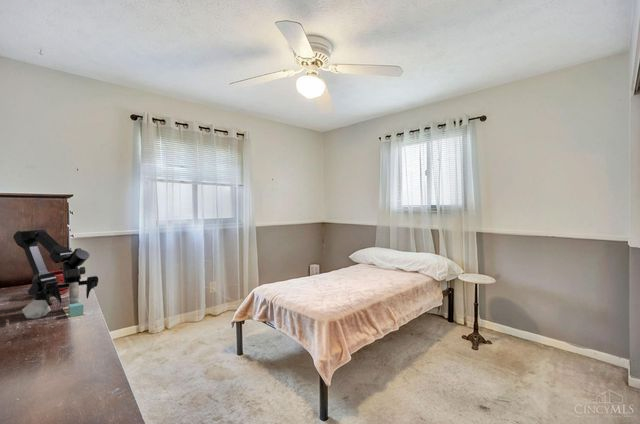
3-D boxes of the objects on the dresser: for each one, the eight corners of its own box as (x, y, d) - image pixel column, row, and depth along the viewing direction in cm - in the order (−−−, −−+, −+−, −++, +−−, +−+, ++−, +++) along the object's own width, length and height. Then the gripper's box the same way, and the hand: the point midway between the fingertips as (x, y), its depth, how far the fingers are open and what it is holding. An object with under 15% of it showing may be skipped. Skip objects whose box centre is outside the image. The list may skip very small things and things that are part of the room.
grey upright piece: (62, 309, 137) (62, 280, 137) (79, 306, 141) (78, 278, 141) (68, 321, 123) (68, 288, 123) (86, 317, 128) (86, 285, 128)
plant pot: (44, 292, 166) (44, 271, 166) (73, 289, 172) (73, 269, 171) (33, 298, 154) (33, 276, 154) (65, 295, 160) (64, 274, 160)
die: (25, 325, 121) (44, 305, 124) (11, 314, 122) (30, 294, 125) (42, 325, 129) (60, 305, 131) (29, 314, 130) (46, 295, 133)
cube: (68, 314, 128) (68, 304, 128) (81, 312, 131) (81, 302, 131) (70, 317, 125) (70, 307, 125) (83, 314, 128) (83, 304, 128)
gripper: (44, 264, 128) (47, 294, 120) (97, 259, 141) (102, 286, 134) (43, 279, 133) (45, 309, 126) (94, 272, 147) (99, 299, 139)
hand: (74, 300), depth 131 cm, fingers open, 9 cm apart
